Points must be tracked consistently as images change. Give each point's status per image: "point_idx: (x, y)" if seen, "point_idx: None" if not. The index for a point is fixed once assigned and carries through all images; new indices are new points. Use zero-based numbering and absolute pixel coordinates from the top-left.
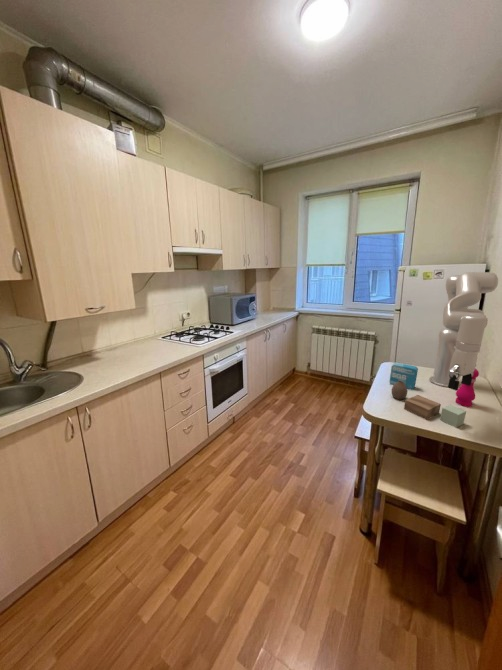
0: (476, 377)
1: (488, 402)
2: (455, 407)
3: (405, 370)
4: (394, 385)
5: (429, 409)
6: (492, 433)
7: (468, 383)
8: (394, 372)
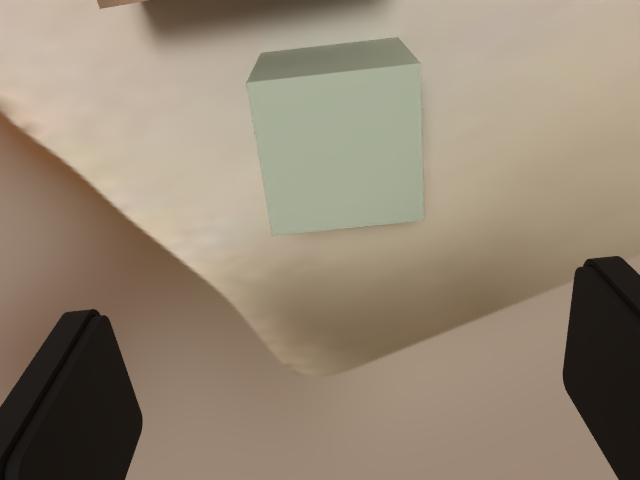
0: None
1: None
2: (402, 131)
3: None
4: None
5: (123, 4)
6: (454, 310)
7: (582, 394)
8: None
